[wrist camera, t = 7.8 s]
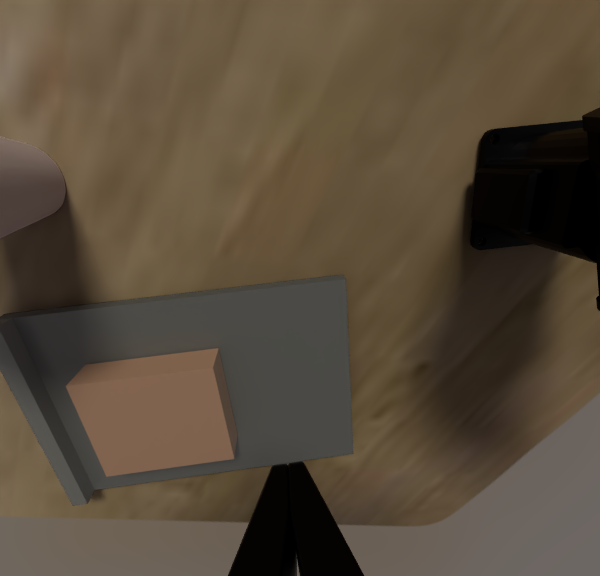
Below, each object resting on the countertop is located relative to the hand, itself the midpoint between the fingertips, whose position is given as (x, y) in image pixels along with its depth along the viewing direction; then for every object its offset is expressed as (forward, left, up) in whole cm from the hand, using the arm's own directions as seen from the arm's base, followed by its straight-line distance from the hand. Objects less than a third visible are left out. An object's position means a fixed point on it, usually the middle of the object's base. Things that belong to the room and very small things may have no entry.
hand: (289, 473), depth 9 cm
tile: (+4, +6, -10) cm, 12 cm away
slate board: (+6, +6, -12) cm, 15 cm away
